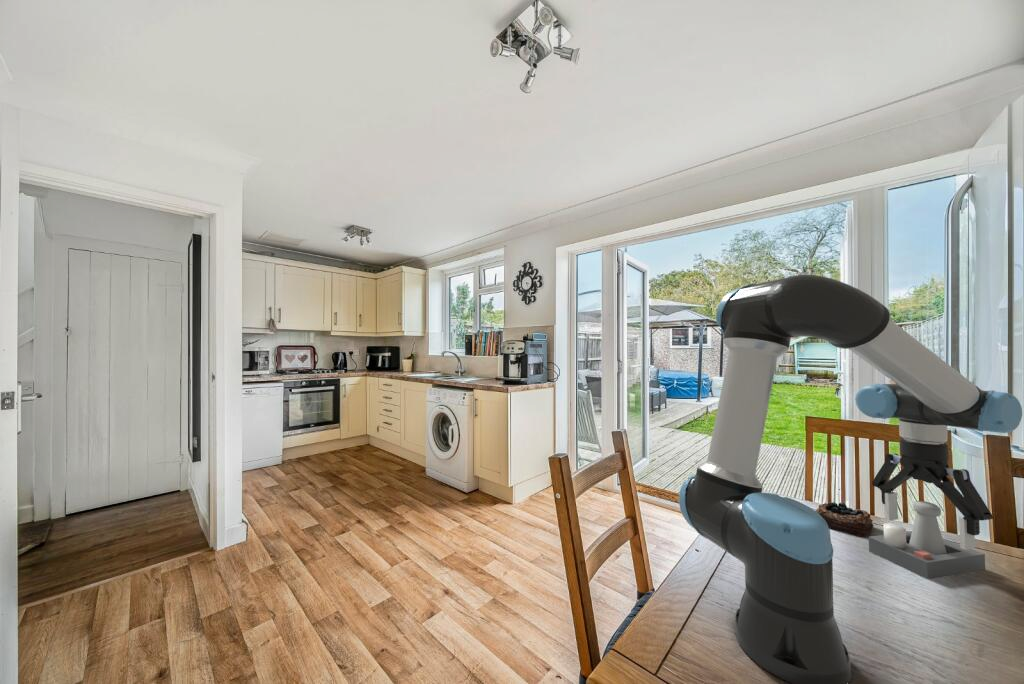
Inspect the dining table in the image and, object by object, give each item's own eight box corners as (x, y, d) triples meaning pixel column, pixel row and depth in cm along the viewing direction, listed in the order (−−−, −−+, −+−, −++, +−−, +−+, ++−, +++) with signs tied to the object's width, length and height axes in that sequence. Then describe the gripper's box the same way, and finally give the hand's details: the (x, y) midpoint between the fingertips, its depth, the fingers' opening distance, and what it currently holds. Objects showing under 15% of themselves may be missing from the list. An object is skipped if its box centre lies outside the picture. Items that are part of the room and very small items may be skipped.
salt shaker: (955, 568, 81) (954, 509, 82) (924, 565, 82) (923, 507, 83) (931, 554, 87) (929, 499, 87) (902, 551, 88) (901, 497, 88)
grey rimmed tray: (927, 579, 78) (926, 543, 78) (869, 551, 89) (867, 520, 89) (985, 570, 81) (983, 535, 81) (921, 544, 91) (920, 513, 92)
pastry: (871, 541, 94) (870, 517, 94) (811, 524, 103) (810, 503, 103) (874, 526, 101) (874, 505, 101) (818, 512, 110) (818, 493, 110)
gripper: (1016, 454, 74) (1021, 561, 73) (874, 428, 98) (877, 508, 98) (988, 456, 72) (993, 565, 72) (851, 429, 97) (854, 510, 97)
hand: (926, 532), depth 85 cm, fingers open, 13 cm apart
